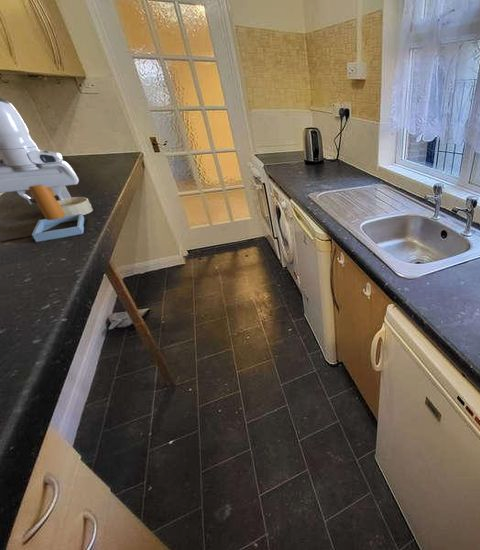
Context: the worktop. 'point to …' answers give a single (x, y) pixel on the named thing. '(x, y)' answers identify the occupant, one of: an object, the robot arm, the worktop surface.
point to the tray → (60, 233)
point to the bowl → (75, 206)
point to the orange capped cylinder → (47, 202)
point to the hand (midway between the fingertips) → (47, 201)
